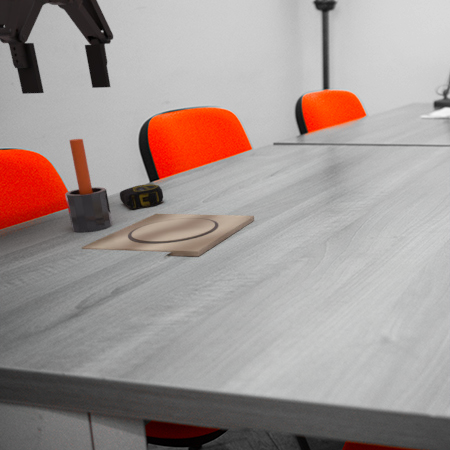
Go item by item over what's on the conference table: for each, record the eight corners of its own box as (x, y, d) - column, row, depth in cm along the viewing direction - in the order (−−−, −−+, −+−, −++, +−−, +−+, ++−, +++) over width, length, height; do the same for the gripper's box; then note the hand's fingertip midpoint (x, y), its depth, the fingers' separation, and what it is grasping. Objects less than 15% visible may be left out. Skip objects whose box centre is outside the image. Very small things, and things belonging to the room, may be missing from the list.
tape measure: (120, 207, 106) (117, 187, 105) (159, 200, 110) (156, 181, 109) (128, 214, 101) (125, 193, 100) (168, 207, 105) (165, 187, 104)
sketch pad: (82, 252, 81) (80, 245, 81) (156, 218, 98) (155, 212, 98) (198, 256, 78) (197, 249, 77) (254, 220, 95) (253, 214, 94)
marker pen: (83, 228, 91) (66, 140, 87) (91, 225, 92) (75, 138, 88) (93, 228, 90) (77, 140, 86) (101, 225, 92) (85, 138, 88)
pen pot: (65, 235, 89) (56, 195, 87) (90, 225, 95) (83, 187, 93) (96, 236, 88) (88, 195, 86) (120, 226, 94) (113, 187, 92)
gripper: (-19, -93, 66) (22, 95, 72) (122, -55, 89) (144, 84, 95) (-72, -87, 67) (-27, 96, 73) (80, -52, 91) (105, 86, 97)
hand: (70, 90), depth 84 cm, fingers open, 13 cm apart
